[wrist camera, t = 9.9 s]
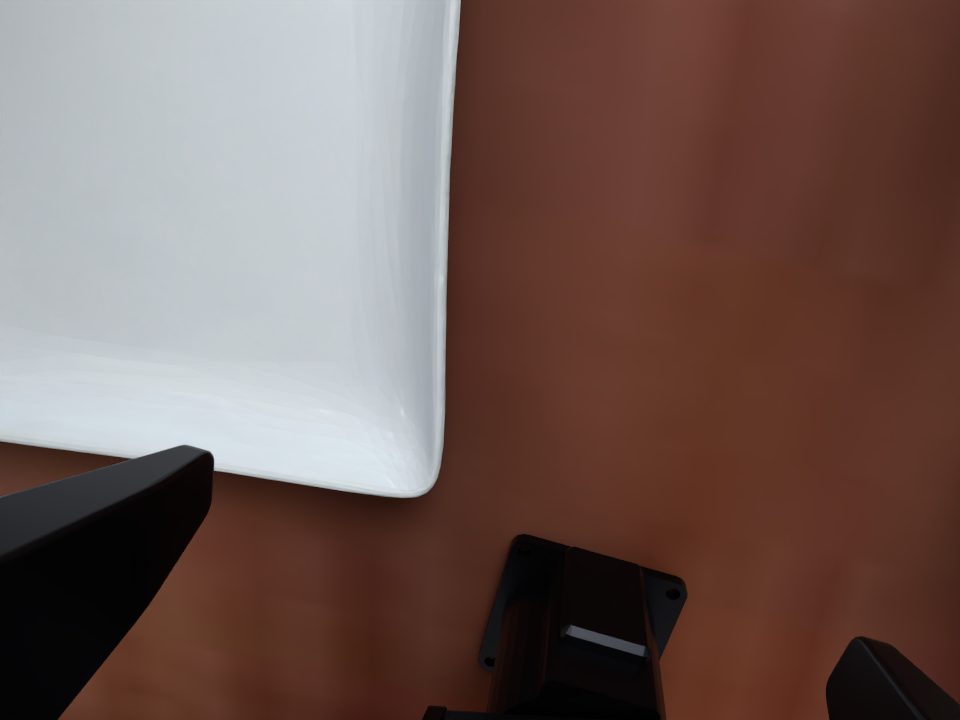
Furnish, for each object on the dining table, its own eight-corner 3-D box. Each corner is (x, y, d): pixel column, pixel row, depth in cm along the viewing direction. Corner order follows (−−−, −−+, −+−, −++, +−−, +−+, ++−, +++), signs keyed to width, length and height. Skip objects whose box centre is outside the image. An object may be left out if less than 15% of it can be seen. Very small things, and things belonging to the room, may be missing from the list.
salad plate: (458, 460, 24) (438, 514, 21) (-59, 389, 27) (-147, 428, 23) (503, -287, 16) (483, -381, 13) (-235, -288, 19) (-402, -367, 16)
